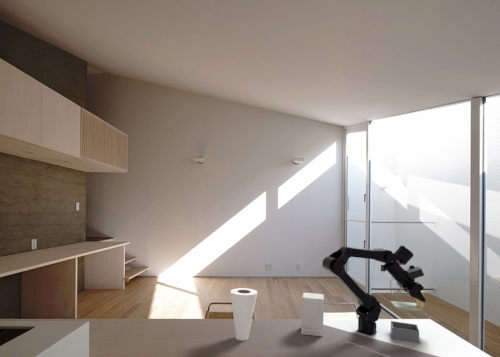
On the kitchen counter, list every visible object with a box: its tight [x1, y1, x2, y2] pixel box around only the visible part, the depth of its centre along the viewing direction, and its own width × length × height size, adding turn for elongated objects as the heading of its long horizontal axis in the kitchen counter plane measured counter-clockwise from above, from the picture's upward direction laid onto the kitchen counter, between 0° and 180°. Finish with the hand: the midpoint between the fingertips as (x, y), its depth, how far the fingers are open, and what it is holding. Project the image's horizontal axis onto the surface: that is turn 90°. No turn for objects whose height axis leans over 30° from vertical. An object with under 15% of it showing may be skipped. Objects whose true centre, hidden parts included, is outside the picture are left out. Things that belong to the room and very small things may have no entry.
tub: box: [390, 320, 420, 344], centre depth 145 cm, size 10×8×5 cm
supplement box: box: [300, 292, 325, 337], centre depth 148 cm, size 9×9×15 cm
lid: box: [390, 290, 425, 312], centre depth 152 cm, size 12×8×8 cm
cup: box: [230, 287, 258, 342], centre depth 138 cm, size 11×11×18 cm
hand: (423, 300), depth 151 cm, fingers closed on lid, 3 cm apart
